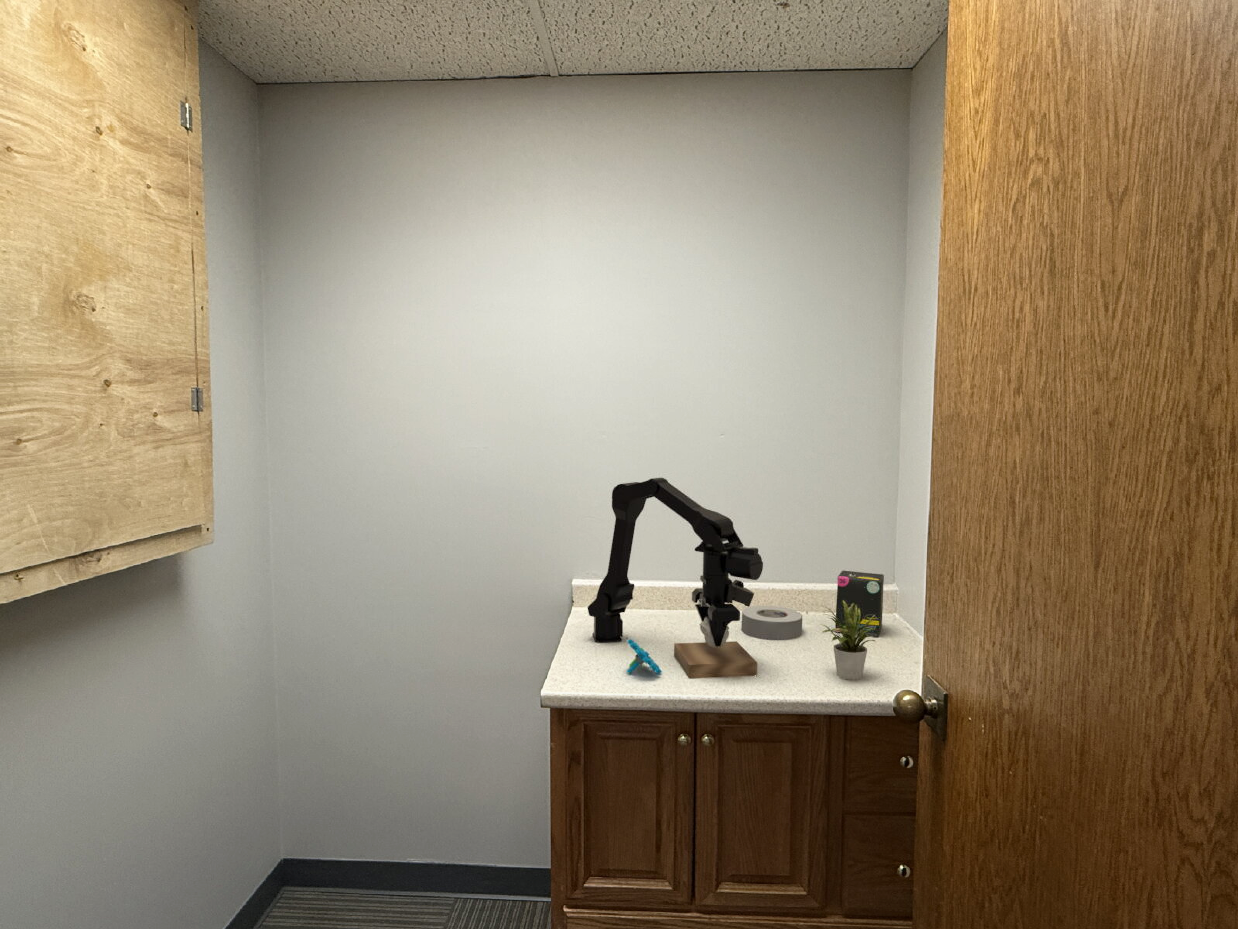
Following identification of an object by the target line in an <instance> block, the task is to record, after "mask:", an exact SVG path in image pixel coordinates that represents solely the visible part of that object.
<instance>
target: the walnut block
mask: <svg viewBox="0 0 1238 929" xmlns="http://www.w3.org/2000/svg"><path fill="white" fill-rule="evenodd" d="M673 644H674V645H673V657H674V659H675V660H676V661H677V663H678V664H679V666H680V667H681V670H683V672H684V673H685V674H686V676H687V678H688V679H709V678H710V679H711V678H712V679H713V678H737V677H757V676H758V675H757V674H758V661H756V660H755V658H754V657H753V656H752V655H751V654H750V653H749V652H748V651H747V650H746V649H745V648H744V647H743V646H742V645H741V644H740V643H739V642H738V641H735V640H734V641H726V642H725V644H724V645H723V646H721V647H719V648H713V647H710V646H709V645H708V644H707V643H706V641H705V642H704V641H703V642H682V643H673ZM755 675H756V676H755Z"/></svg>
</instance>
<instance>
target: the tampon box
mask: <svg viewBox="0 0 1238 929" xmlns="http://www.w3.org/2000/svg"><path fill="white" fill-rule="evenodd" d="M884 581H885V574H881V573H871V572H862V571H854V570H853V571H852V570H842V571H841V572H840V573H839V574H838V576H837V586H836V587H837V591H836V602H835V603H836V604H835V605H836V607H835V616H836V617H837V619H838V620H839V622H840V623H841V624H842V626H846V623H845V615H844V604H843V601H845V603H846V604H847V606H848V610H849V609H850V606H851V605H852V604H853V603H854V605H853V610H854V608H855V605H857V604H858V605H857V613H858V609H860V614H861V617H860V622H859V627H858V631H857V634H859V632H860V631H861V629H862V628H863V627H864V625H865V624H866V623H867V622H868V621H869V620H870V619H871V618H872V617H873V616H874V615H875V614H876V615H875V616H874V617H873V618H872V619H871V620H872V621H871V620H870V621H871V622H870V623H869V624H868V625H867V627H866V628H865V629H864V631H865V630H867V629H870V628H873V629H871V630H869V631H867V632H866V633H864V634H866V635H868V637H870V636H873V637H872V638H879V635H880V633H881V631H880V630H882V628H883V611H884V610H883V606H884ZM853 610H852V613H853ZM876 618H877V619H876ZM873 619H874V620H873ZM835 621H836V620H835ZM853 621H854V620H853ZM836 622H837V621H836ZM834 623H835V622H834ZM837 623H838V622H837ZM838 624H839V623H838ZM834 626H835V627H834V629H839V628H838V626H837V625H836V623H835V624H834ZM839 626H840V625H839ZM840 628H841V627H840ZM864 631H863V632H864ZM836 632H837V633H838V632H840V631H836ZM839 634H841V632H840V633H839ZM861 634H862V633H861ZM864 634H863V635H864Z"/></svg>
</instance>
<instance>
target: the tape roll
mask: <svg viewBox="0 0 1238 929" xmlns="http://www.w3.org/2000/svg"><path fill="white" fill-rule="evenodd" d="M741 632H742V633H743V634H744V635H746V636H748V637H751V638H755V639H758V640H759V639H761V640H765V641H789V640H795V639H798V638H800V637H801V636H802V635H801V634H803V614H802V613H801V612H799V611H797V610H795V609H792V608H788V607H782V606H776V605H755V606H754V605H753V606H749V607H748V606H747V607H746V608H745V607H744V609H743V610H742V612H741ZM797 637H798V638H797Z"/></svg>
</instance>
